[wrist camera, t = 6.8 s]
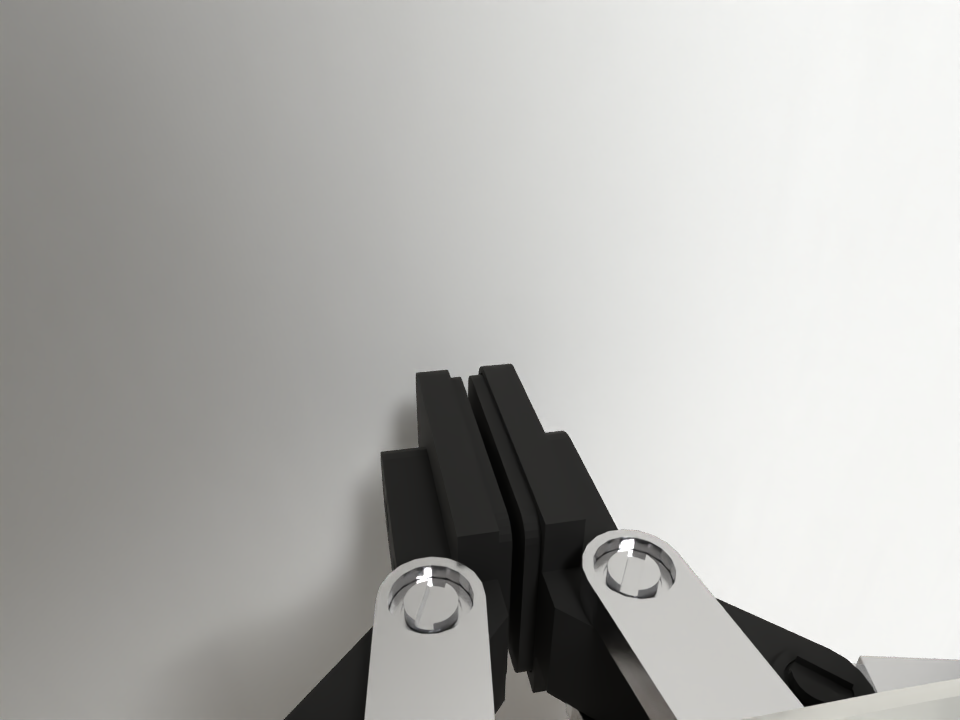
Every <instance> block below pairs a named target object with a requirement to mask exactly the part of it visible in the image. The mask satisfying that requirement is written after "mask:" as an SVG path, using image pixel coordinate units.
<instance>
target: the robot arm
mask: <svg viewBox="0 0 960 720" xmlns="http://www.w3.org/2000/svg"><path fill="white" fill-rule="evenodd" d="M416 398H417V421H418V444H419V448H411V449H402V450H394V451H385V452H381V468H382V481H383V493H384V504H385V514H386V524H387V532H388V541H389V549H390V556H391V564H392V572H391V573H390V574H388V576H387V577H386V578H385V580H384V581H383V582H382V584H381V585H380V587H379V590H378V594H377V597H376V602H375V613H374V624H373V627H372V628H371V629H370V630H369V631H368V632H367V633H366V634H365V635H364V636H363V637H362V638H361V640H360V641H359V642H358V643H357V644H356V645H355V646H354V647H353V648H352V649H351V650H350V651H349V652H348V653H347V654H346V655H345V656H344V657H343V658H342V659H341V660H340V661H339V663H338V664H337V665H336V666H335V667H334V668H333V669H332V670H331V671H330V672H329V673H328V674H327V675H326V676H325V677H324V678H323V679H322V680H321V681H320V682H319V683H318V685H317V686H316V687H315V688H314V689H313V690H312V691H311V692H310V693H309V694H308V695H307V696H306V697H305V698H304V699H303V700H302V701H301V702H300V703H299V704H298V705H297V706H296V708H295V709H294V710H293V711H292V712H291V713H290V714H289V715H288V716H287V717H286V718H285V719H284V720H495V714H496V712H497V711H498V709H499V708H500V706H501V705H502V703H503V702H504V700H505V680H506V672H507V654H508V650H509V654H510V657H511V661H512V664H513V667H514V670H515V672H516V673H519V672H525V671H527V674H528V678H529V681H530V685H531V688H532V691H533V693H535V692H541V691H546V690H547V693H549V694H551V695H553V696H554V697H556V698H558V699H559V700H561V701H563V702H565V703H566V713H567V716H568V719H569V720H960V660H950V659H926V658H902V657H878V656H860V657H859V659H858V661H857V664H852V663H850V662H849V661H848V660H847V659H846V658H844V657H842V656H841V655H839V654H837V653H835V652H834V651H832V650H830V649H828V648H826V647H824V646H822V645H819V644H817V643H815V642H813V641H810V640H808V639H806V638H804V637H802V636H799V635H797V634H795V633H793V632H790V631H788V630H786V629H784V628H781V627H779V626H777V625H775V624H773V623H770V622H768V621H766V620H764V619H761V618H759V617H757V616H755V615H752V614H750V613H748V612H746V611H744V610H741V609H739V608H737V607H735V606H732V605H730V604H728V603H726V602H724V601H721V600H719V599H717V598H715V597H714V596H713V595H712V593H711V592H710V591H709V590H708V589H707V587H706V586H705V585H704V584H703V582H702V581H701V580H700V579H699V578H698V576H697V575H696V574H695V573H694V571H693V570H692V569H691V568H690V567H689V565H688V564H687V563H686V562H685V560H684V559H683V558H682V557H681V556H680V554H679V553H678V552H677V551H676V550H675V549H673V548H672V547H671V546H670V545H669V544H668V543H667V542H665V541H663V540H661V539H660V538H658V537H656V536H654V535H651V534H648V533H645V532H641V531H637V530H626V529H621V530H618V529H617V527H616V525H615V523H614V521H613V519H612V517H611V515H610V514H609V512H608V510H607V508H606V506H605V504H604V502H603V500H602V498H601V496H600V494H599V492H598V491H597V489H596V487H595V485H594V483H593V481H592V479H591V477H590V475H589V473H588V471H587V469H586V468H585V466H584V464H583V462H582V460H581V458H580V456H579V454H578V452H577V450H576V448H575V447H574V445H573V443H572V441H571V439H570V437H569V436H568V434H567V433H566V432H564V431H557V432H549V433H545V432H544V430H543V428H542V425H541V423H540V421H539V419H538V417H537V415H536V413H535V411H534V409H533V407H532V404H531V402H530V400H529V398H528V396H527V394H526V392H525V390H524V388H523V386H522V383H521V381H520V379H519V377H518V375H517V373H516V371H515V369H514V367H513V365H512V364H502V365H492V366H482V367H480V369H479V375H473V376H469V380H468V396H467V393H466V390H465V388H464V385H463V382H462V379H461V377H453V378H451V377H450V374H449V372H448V370H441V371H430V372H420V373H416Z"/></svg>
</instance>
